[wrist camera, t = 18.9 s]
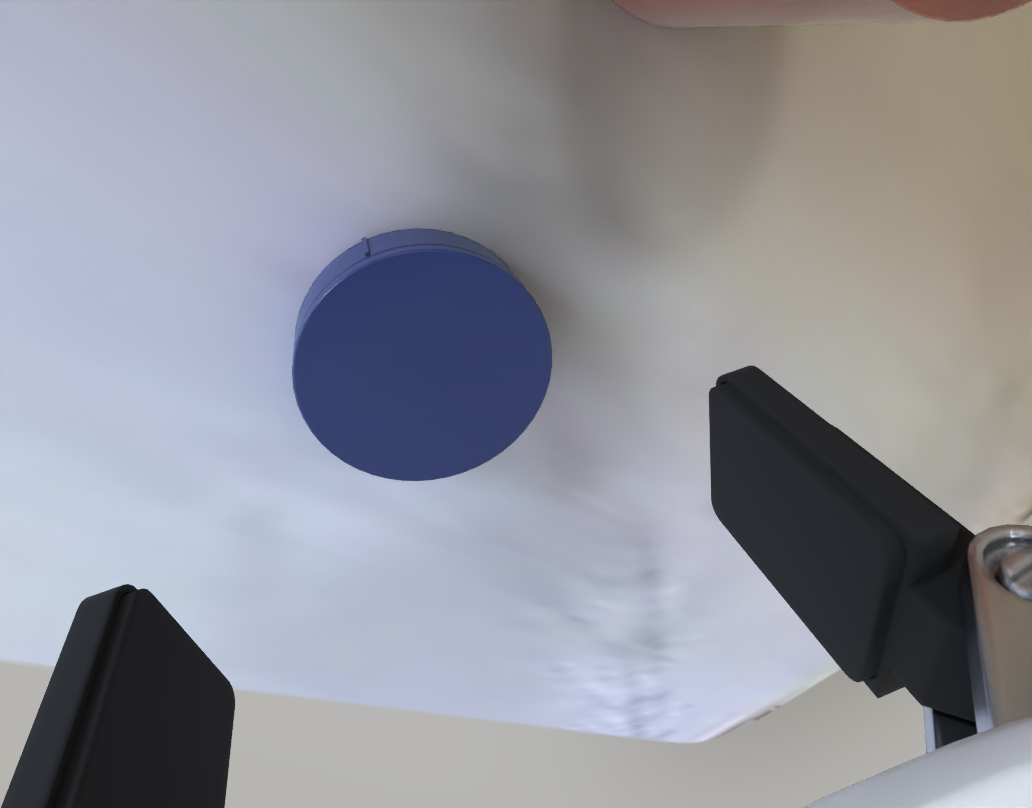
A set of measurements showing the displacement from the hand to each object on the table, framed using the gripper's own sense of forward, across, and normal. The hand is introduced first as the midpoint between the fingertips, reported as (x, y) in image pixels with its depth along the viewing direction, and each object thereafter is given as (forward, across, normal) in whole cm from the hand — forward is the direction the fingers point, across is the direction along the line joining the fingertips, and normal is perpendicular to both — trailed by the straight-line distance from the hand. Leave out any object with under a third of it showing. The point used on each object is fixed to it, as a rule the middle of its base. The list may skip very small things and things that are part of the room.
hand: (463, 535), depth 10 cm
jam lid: (+7, 0, +1) cm, 7 cm away
